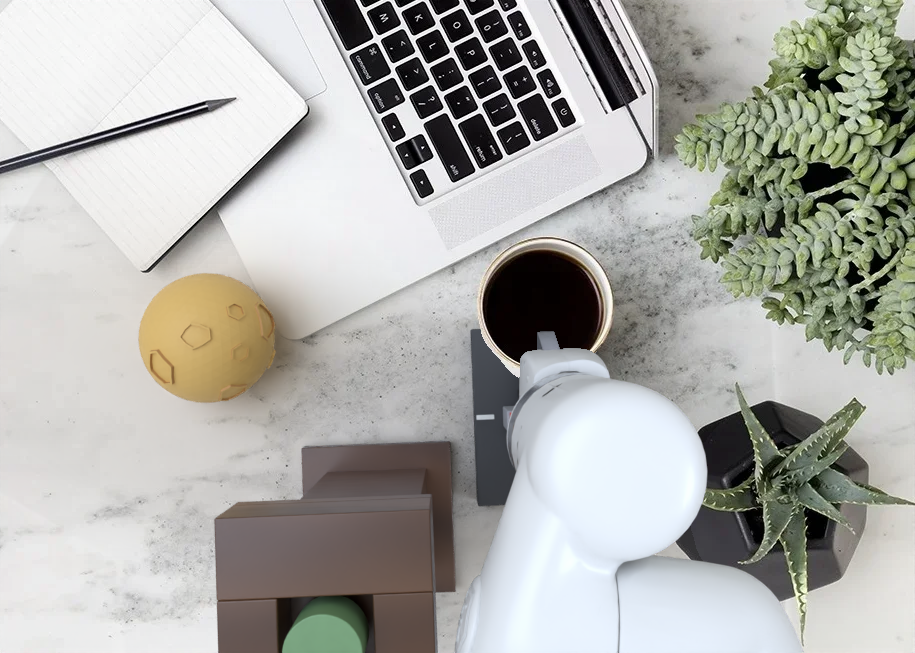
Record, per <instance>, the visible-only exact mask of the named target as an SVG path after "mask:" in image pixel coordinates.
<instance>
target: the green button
mask: <svg viewBox="0 0 915 653" xmlns="http://www.w3.org/2000/svg"><path fill="white" fill-rule="evenodd" d="M368 639H369V625H368V621H367V618H366V616H365V614H364V612H363V611H362V609H361V608H360V607H359V606H358V605H357V604H356V603H355V602H354V601H352V600H350V599H348V598H346V597H343V596H320V597H318V598H316V599H314V600H312V601H311V602H309V603H308V604H307V605H306V606H305V607H304V608H303V609H302V610H301V612H300V614H299V615H298V617H297V619H296V620H295V622H294V624H293V626H292V627H291V629H290V631H289V633H288V634H287V636H286V639H285V641H284V644H283V649H282V653H365V651H366V647H367V643H368Z"/></svg>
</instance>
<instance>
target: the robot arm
mask: <svg viewBox="0 0 915 653" xmlns="http://www.w3.org/2000/svg"><path fill="white" fill-rule="evenodd" d="M517 394H518V397H519V400H518V402H517V403H516V405H515V406H514V408H513V410H512V413H511V415H510V418H509V422H508V427H507V448H508V452H509V457H510V460H511V462H512V465H513V467H514V469H515V471H516V474H515V477H514V480H513V483H512V486H511V489H510V492H509V495H508V498H507V501H506V504H505V505H504V506H503V510H502V512H501V515H500V519H499V521H498V524H497V526H496V530H495V532H494V535H493V538H492V541H491V542H490V546H489V548H488V551H487V554H486V557H485V559H484V562H483V565H482V568H481V570H480V572H479V574H478V575H477V576H476V577H474V579H472V582H471V583H470V584H469V587H468V589H467V592H466V594H465V597H464V599H463V604H462V607H461V610H460V614H459V619H458V622H457V630H456V635H455V643H454V653H805V651H804V648H803V646H802V643H801V641H800V638H799V635H798V634H797V631H796V629H795V627H794V625H793V623H792V621H791V619H790V617H789V615H788V613H787V611H786V610H785V608H784V606H783V605H782V603H781V602H780V600H779V599H778V597H777V596H776V595H775V594H774V592H773V591H772V590H771V589H770V588H769V587H768V586H766V584H764V582H762V581H761V580H760V579H758V578H757V577H755V576H753V574H750V573H748V572H746V571H745V570H742V569H739V568H737V567H734V566H730V565H727V564H720V563H714V562H708V561H702V560H695V559H688V558H682V557H681V558H680V557H673V556H671V557H670V556H664V555H656V554H658V553H661V552H662V551H664V550H665V549H667V548H668V547H670V546H671V545H673V544H674V543H675V542H676V541H678V540H679V539H680V538H681V537H682V536H683V535H684V533H685V532H686V531H687V530H688V529H689V528H690V526H692V523H693V522H694V521H695V519H696V518H697V516H698V514H699V511H700V509H701V506H702V505H703V502H704V498H705V495H706V490H707V484H708V483H707V482H708V466H707V464H708V463H707V457H706V456H707V455H706V451H705V449H704V445H703V442H702V439H701V437H700V436H699V433H698V431H697V429H696V427H695V426H694V424H693V422H692V421H691V419H689V417H688V415H687V414H686V413H685V412H684V411H683V410H682V409H681V408H680V407H679V406H678V405H677V404H676V403H675V402H673V401H672V400H671V399H669V398H668V397H667V396H665V395H663V394H661V393H660V392H658V391H656V390H654V389H652V388H649V387H647V386H644V385H641V384H639V383H635V382H630V381H625V380H620V379H614V378H611V376H610V372H609V369H608V367H607V365H606V363H605V362H604V360H603V359H602V358H601V357H600V356H599V354H598V355H596V354H595V353H593V352H592V351H590V350H587V349H581V348H563V349H560V347H559V344H558V341H557V338H556V335H555V332H554V331H540V332H537V350H532V351H527V352H525V353H524V354H523V355H522V356H521V358H520V377H519V390H517Z"/></svg>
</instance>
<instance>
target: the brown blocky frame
mask: <svg viewBox="0 0 915 653" xmlns="http://www.w3.org/2000/svg"><path fill="white" fill-rule="evenodd" d="M213 526H214V556H215V557H214V558H215V560H214V561H215V589H216V590H215V592H216V594H215V595H216V625H217V627H216V628H217V653H282V649H283V644H284V641H285V639H286V636H287V634H288V633H289V631H290V629H291V627H292V626H293V624H294V622H295V620H296V619H297V617H298V615H299V614H300V612H301V610H302V609H303V608H304V607H305V606H306V605H307V604H308V603H309V602H311V601H312V600H314V599H316V598H318V597H320V596H343V597H346V598H348V599H350V600H352V601H354V602H355V603H356V604H357V605H358V606H359V607H360V608H361V609H362V611H363V612H364V614H365V616H366V618H367V621H368V625H369V639H368V643H367V647H366V651H365V653H439V645H438V644H439V643H438V617H437V593H436V589H435V562H434V536H433V509H432V494H418V495H394V496H370V497H346V498H322V499H301V498H300V499H278V500H277V499H276V500H254V501H253V500H251V501H237V502H236V503H234V504H232V506H230V507H229V508H227V509H226V510H224V511H223V512H221V513H220V514H219V515H217V516H216V517H215V518H214V519H213Z"/></svg>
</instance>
